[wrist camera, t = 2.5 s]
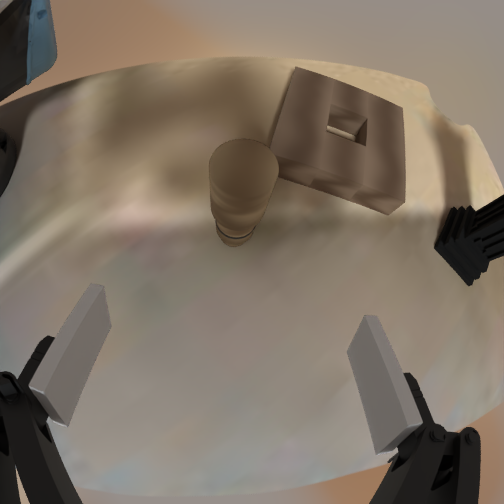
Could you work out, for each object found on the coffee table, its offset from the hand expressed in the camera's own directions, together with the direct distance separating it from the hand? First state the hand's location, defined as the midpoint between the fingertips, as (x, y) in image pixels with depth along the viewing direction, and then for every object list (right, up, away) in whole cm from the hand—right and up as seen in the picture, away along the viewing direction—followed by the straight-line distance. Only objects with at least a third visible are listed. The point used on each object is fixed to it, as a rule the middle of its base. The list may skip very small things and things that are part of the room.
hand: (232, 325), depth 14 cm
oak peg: (-1, +5, +17) cm, 17 cm away
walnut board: (+12, +18, +21) cm, 30 cm away
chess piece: (+30, +4, +20) cm, 36 cm away
